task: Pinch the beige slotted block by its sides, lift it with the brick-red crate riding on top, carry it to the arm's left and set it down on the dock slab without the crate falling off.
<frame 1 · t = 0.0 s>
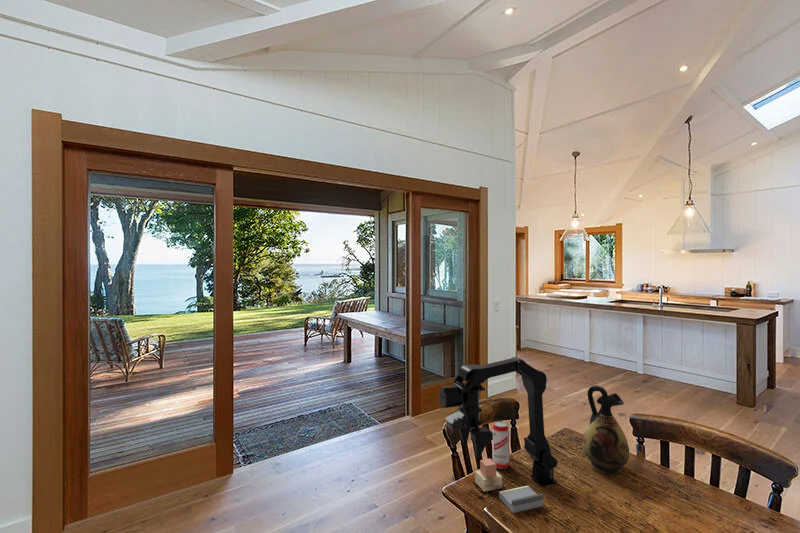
hand: (471, 451, 122), 15 cm above the table, fingers open, 9 cm apart
beer can: (501, 466, 140), on the table
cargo: (488, 473, 128), point 4 cm above the table, touching beige slotted block
ceramic jug: (603, 467, 138), on the table
beige slotted block: (488, 485, 128), on the table, touching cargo
dock: (520, 501, 118), on the table
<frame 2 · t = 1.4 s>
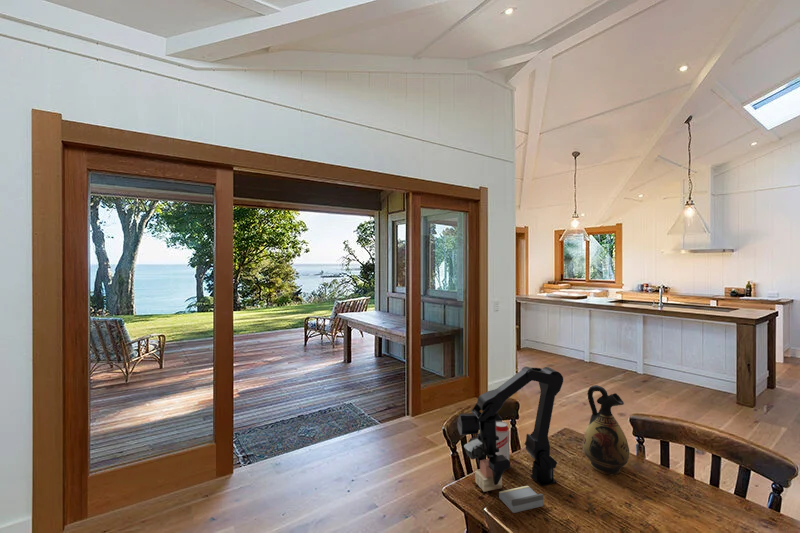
hand: (488, 477, 128), 3 cm above the table, fingers open, 9 cm apart
nothing on the table moved.
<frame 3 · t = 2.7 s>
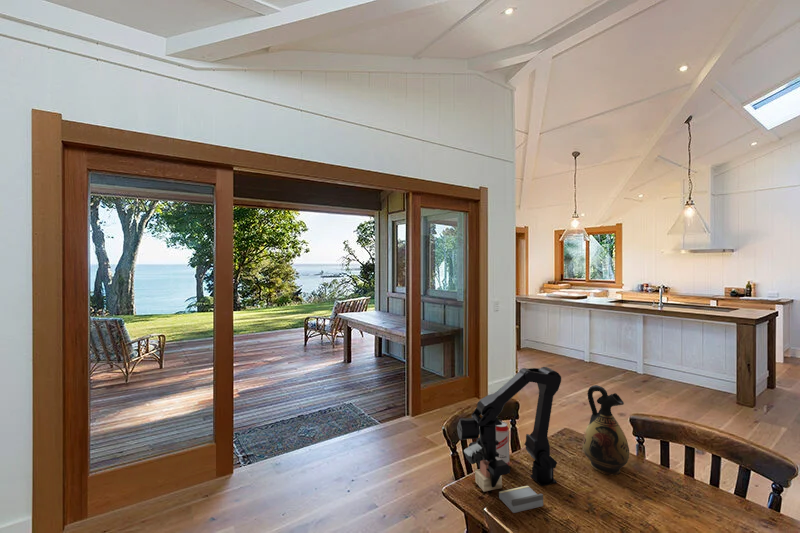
hand: (488, 481, 128), 1 cm above the table, fingers closed on beige slotted block, 6 cm apart
beige slotted block: (488, 484, 128), on the table, touching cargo, gripper
everything else where it was.
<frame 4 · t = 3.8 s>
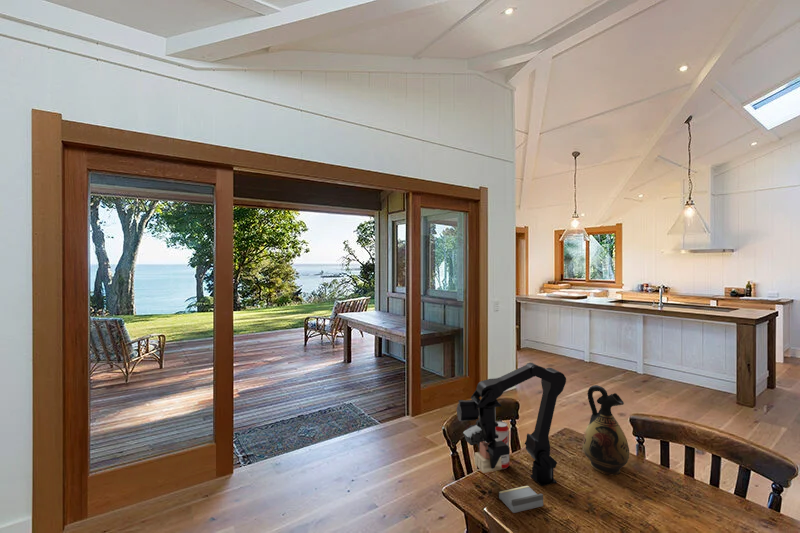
hand: (487, 463, 128), 7 cm above the table, fingers closed on beige slotted block, 6 cm apart
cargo: (487, 455, 128), point 10 cm above the table, touching beige slotted block
beige slotted block: (488, 466, 128), point 6 cm above the table, touching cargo, gripper
everything else where it was.
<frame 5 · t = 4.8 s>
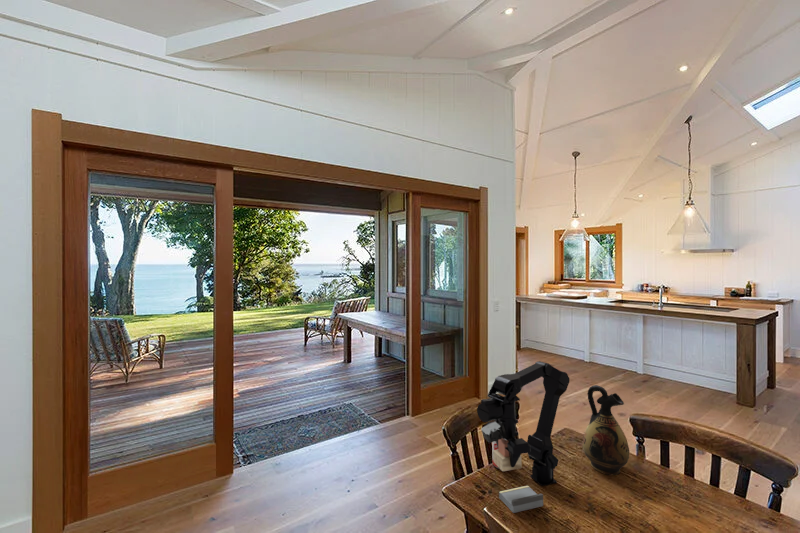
hand: (507, 461, 122), 11 cm above the table, fingers closed on beige slotted block, 6 cm apart
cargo: (506, 453, 122), point 14 cm above the table, touching beige slotted block
beige slotted block: (507, 465, 122), point 10 cm above the table, touching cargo, gripper
everything else where it was.
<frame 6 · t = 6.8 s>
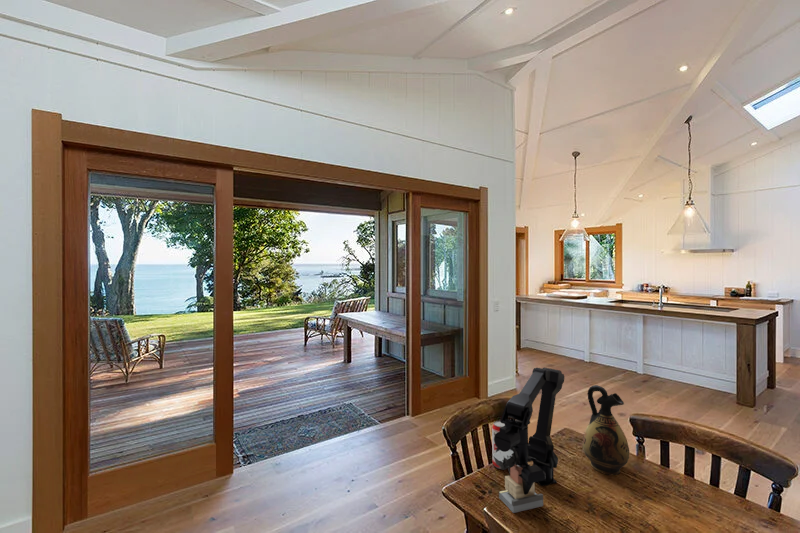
hand: (519, 488, 119), 4 cm above the table, fingers closed on beige slotted block, 6 cm apart
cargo: (519, 479, 119), point 7 cm above the table, touching beige slotted block
beige slotted block: (519, 491, 119), point 3 cm above the table, touching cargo, gripper
everything else where it was.
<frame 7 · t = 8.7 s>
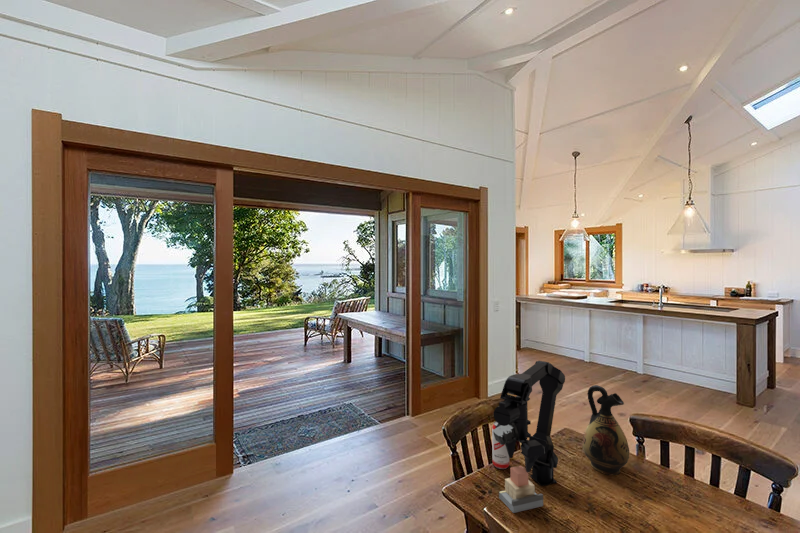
hand: (519, 464, 119), 12 cm above the table, fingers open, 9 cm apart
beige slotted block: (519, 494, 119), point 2 cm above the table, touching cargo, dock
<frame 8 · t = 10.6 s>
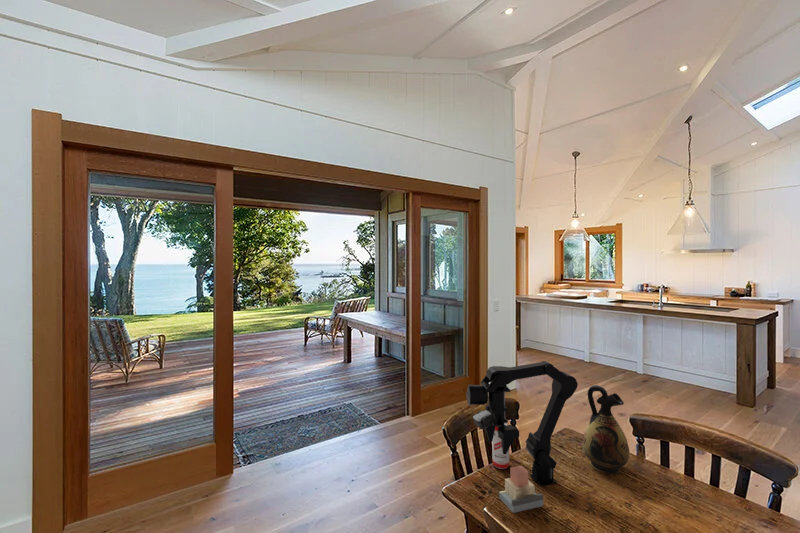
hand: (497, 447, 130), 12 cm above the table, fingers open, 9 cm apart
nothing on the table moved.
at the end: beige slotted block inside the target area on the dock (0.6 cm from its centre), point 2.1 cm above the dock's base; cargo 0.0 cm off-centre on the beige slotted block, point 4.0 cm above the beige slotted block's base; beige slotted block tilted 1° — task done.
